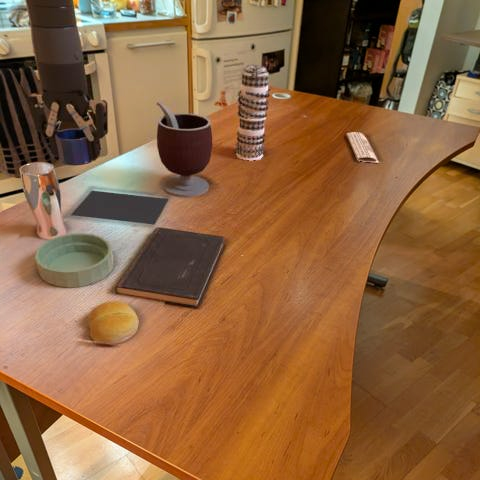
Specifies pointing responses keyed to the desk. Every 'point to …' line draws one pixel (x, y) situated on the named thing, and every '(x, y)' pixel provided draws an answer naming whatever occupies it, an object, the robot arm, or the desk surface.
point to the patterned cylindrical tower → (252, 112)
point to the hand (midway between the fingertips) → (76, 157)
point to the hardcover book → (173, 267)
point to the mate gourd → (184, 151)
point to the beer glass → (43, 198)
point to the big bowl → (74, 260)
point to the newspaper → (361, 147)
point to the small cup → (72, 147)
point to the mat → (121, 207)
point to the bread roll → (112, 322)
